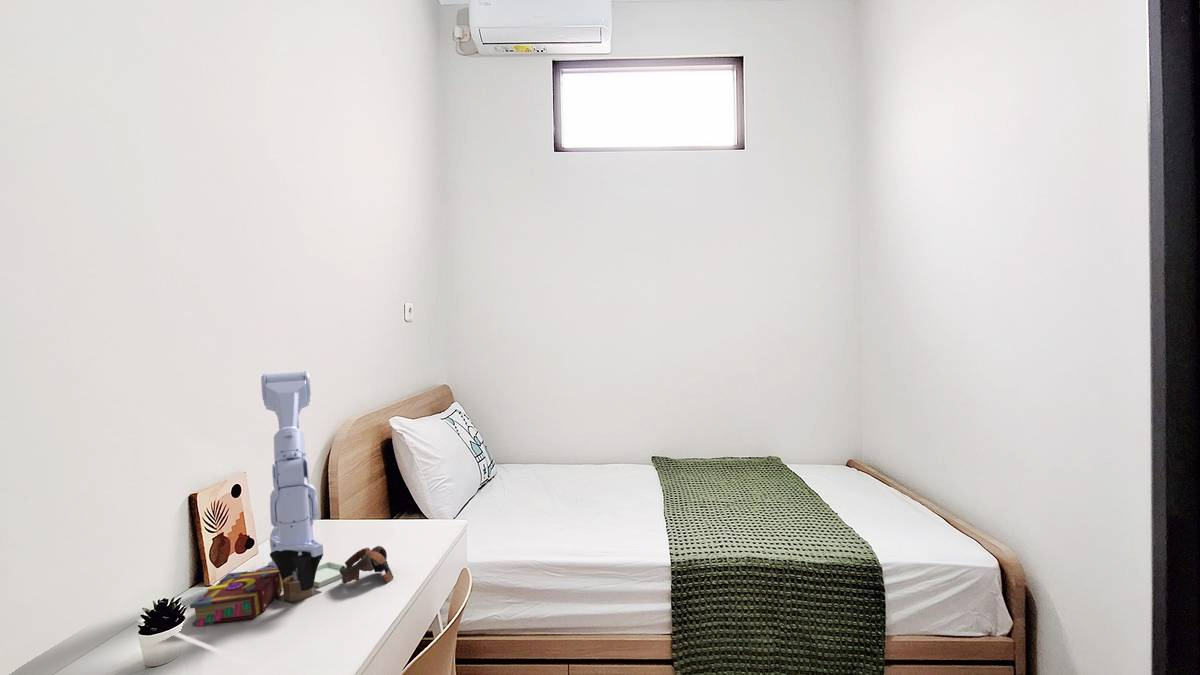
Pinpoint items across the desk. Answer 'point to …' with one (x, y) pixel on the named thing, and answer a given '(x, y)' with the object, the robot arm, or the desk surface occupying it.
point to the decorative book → (237, 597)
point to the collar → (294, 590)
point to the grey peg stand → (296, 578)
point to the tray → (328, 573)
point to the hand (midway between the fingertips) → (298, 586)
